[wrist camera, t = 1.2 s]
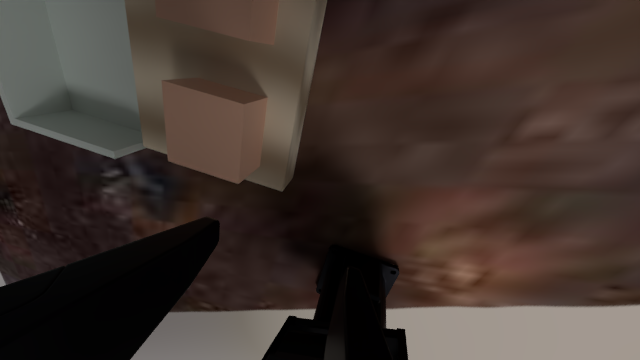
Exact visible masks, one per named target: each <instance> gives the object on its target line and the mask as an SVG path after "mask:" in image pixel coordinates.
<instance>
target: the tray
mask: <svg viewBox="0 0 640 360" xmlns="http://www.w3.org/2000/svg"><path fill="white" fill-rule="evenodd" d="M0 96H1V99H2V101H3V104H4V106H5V109H6V112H7V114H8V117H9V119H10V122H11V124H13V125H16V126H19V127H22V128H25V129H28V130H31V131H34V132H37V133H40V134H43V135H46V136H49V137H52V138H55V139H57V140H60V141H63V142H66V143H69V144H72V145H75V146H78V147H81V148H84V149H87V150H90V151H93V152H96V153H99V154H102V155H105V156H108V157H111V158H114V159H116V158H119V157H122V156H125V155H128V154H130V153H133V152H136V151H139V150H142V149H144V148H146V147H143V139H142V131H141V124H140V116H139V108H138V101H137V93H136V85H135V78H134V70H133V62H132V55H131V47H130V39H129V32H128V24H127V16H126V9H125V1H124V0H0Z"/></svg>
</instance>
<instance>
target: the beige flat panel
mask: <svg viewBox="0 0 640 360" xmlns="http://www.w3.org/2000/svg"><path fill="white" fill-rule="evenodd" d="M124 1H125V9H126V16H127V24H128V32H129V39H130V47H131V55H132V62H133V70H134V78H135V85H136V93H137V101H138V108H139V116H140V124H141V131H142V139H143V147H146V148H149V149H152V150H155V151H159V152H162V153H165V154H167V142H166V130H165V118H164V105H163V93H162V81H161V80H172V79H185V78H201V79H205V80H208V81H212V82H215V83H219V84H222V85H226V86H229V87H233V88H236V89H240V90H243V91H247V92H250V93H254V94H258V95H261V96H265V97H268V100H267V108H266V117H265V126H264V134H263V143H262V151H261V160H260V167H258V168H257V169H256V170H255V171H254V172H252V173H251V174H250V175H249V176H248V177H246V178H245V180H248V181H251V182H254V183H257V184H260V185H263V186H266V187H269V188H272V189H276V190H279V191H283V190H284V189H285V187H286V186H287V185H288V184H289V182H290V181H291V180H292V179H293V175H294V170H295V165H296V159H297V154H298V149H299V144H300V139H301V134H302V128H303V123H304V118H305V113H306V108H307V102H308V97H309V92H310V87H311V82H312V77H313V71H314V66H315V61H316V56H317V51H318V46H319V40H320V35H321V30H322V25H323V20H324V14H325V9H326V4H327V0H279V5H278V14H277V23H276V31H275V40H274V45H270V44H264V43H258V42H252V41H247V40H243V39H240V38H236V37H232V36H228V35H224V34H220V33H217V32H213V31H209V30H205V29H201V28H197V27H193V26H190V25H186V24H182V23H178V22H174V21H170V20H167V19H163V18H159V17H156V7H155V0H124Z"/></svg>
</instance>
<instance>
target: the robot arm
mask: <svg viewBox="0 0 640 360" xmlns="http://www.w3.org/2000/svg"><path fill="white" fill-rule="evenodd" d="M219 229H220V223H219V221H218V220H217V219H214V218H211V217H204V218H201V219H198V220H195V221H192V222H189V223H186V224H183V225H180V226H178V227H175V228H172V229H169V230H166V231H163V232H160V233H157V234H154V235H152V236H149V237H146V238H143V239H140V240H137V241H134V242H131V243H128V244H126V245H123V246H120V247H117V248H114V249H111V250H108V251H105V252H102V253H100V254H97V255H94V256H91V257H88V258H85V259H82V260H79V261H76V262H74V263H71V264H68V265H67V266H66V267H65V266H62V267H59V268H56V269H53V270H50V271H47V272H44V273H41V274H38V275H35V276H32V277H29V278H26V279H23V280H20V281H17V282H14V283H11V284H8V285H5V286H2V287H0V360H130V359H131V358H132V357H133V355H134V354H135V353H136V352H137V350H138V349H139V348H140V347H141V346H142V344H143V343H144V342H145V341H146V339H147V338H148V337H149V336H150V335H151V333H152V332H153V331H154V330H155V328H156V327H157V326H158V325H159V323H160V322H161V321H162V320H163V318H164V317H165V316H166V315H167V314H168V312H169V311H170V310H171V309H172V308H173V306H174V305H175V304H176V303H177V301H178V300H179V299H180V298H181V296H182V295H183V294H184V293H185V291H186V290H187V289H188V288H189V286H190V285H191V283H192V282H193V281H194V279H195V278H196V276H197V275H198V273H199V272H200V270H201V269H202V267H203V266H204V264H205V263H206V261H207V259H208V258H209V256H210V255H211V253H212V252H213V250H214V249H215V247H216V246H217V244H218V241H219ZM333 250H336V251H333ZM391 270H394V271H391ZM398 275H399V268H398V267H397V266H396V265H393V264H390V263H387V262H384V261H381V260H378V259H375V258H372V257H370V256H367V255H364V254H361V253H358V252H355V251H352V250H349V249H346V248H343V247H340V246H337V245H332V246H330V248H329V251H328V255H327V258H326V261H325V264H324V267H323V270H322V273H321V276H320V279H319V282H318V285H317V288H316V291H317V293H319V294H320V297H319V300H318V304H317V308H316V311H315V315H314V319H313V320H311V319H302V318H297V317H296V316H289V317H288V318H287V320H286V322H285V323H284V325H283V326H282V328H281V330H280V331H279V333H278V334H277V336H276V337H275V339H274V341H273V342H272V344H271V345H270V347H269V349H268V350H267V352H266V353H265V355H264V357H263V359H262V360H408V354H407V345H406V335H405V329H398V328H397V330H395V329H387V328H386V297H387V295H388V293H389V291H390V289H391V288H392V286H393V284H394V282H395V280H396V279H397V277H398Z"/></svg>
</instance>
